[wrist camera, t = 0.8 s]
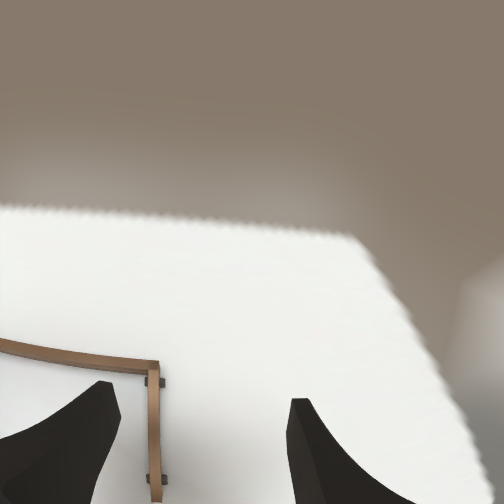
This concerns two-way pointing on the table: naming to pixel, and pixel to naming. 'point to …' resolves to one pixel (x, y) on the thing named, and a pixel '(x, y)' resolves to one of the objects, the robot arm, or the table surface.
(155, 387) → the wooden u-shaped frame
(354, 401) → the table surface
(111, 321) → the table surface
